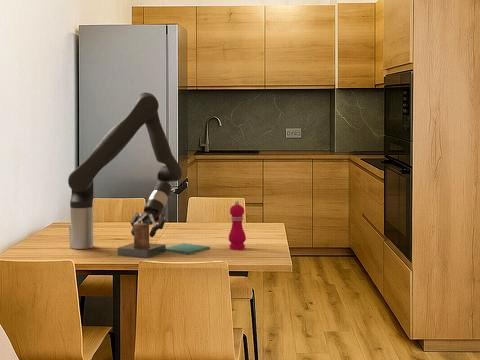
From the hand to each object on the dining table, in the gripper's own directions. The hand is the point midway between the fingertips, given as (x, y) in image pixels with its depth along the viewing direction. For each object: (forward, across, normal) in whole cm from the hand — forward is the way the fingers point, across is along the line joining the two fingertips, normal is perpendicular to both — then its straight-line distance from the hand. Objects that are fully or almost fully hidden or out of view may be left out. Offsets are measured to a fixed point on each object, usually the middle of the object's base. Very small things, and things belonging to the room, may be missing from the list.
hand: (141, 235), depth 310 cm
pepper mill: (-12, +31, +23) cm, 40 cm away
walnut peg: (+5, 0, +5) cm, 7 cm away
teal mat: (-5, +13, +15) cm, 20 cm away
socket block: (+5, 0, +5) cm, 7 cm away
